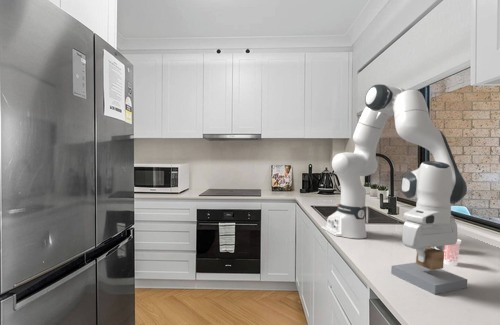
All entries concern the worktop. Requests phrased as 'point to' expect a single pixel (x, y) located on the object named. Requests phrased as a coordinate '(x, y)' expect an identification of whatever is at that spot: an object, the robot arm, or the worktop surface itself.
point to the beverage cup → (452, 253)
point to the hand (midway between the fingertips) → (429, 260)
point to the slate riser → (429, 278)
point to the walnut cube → (432, 259)
